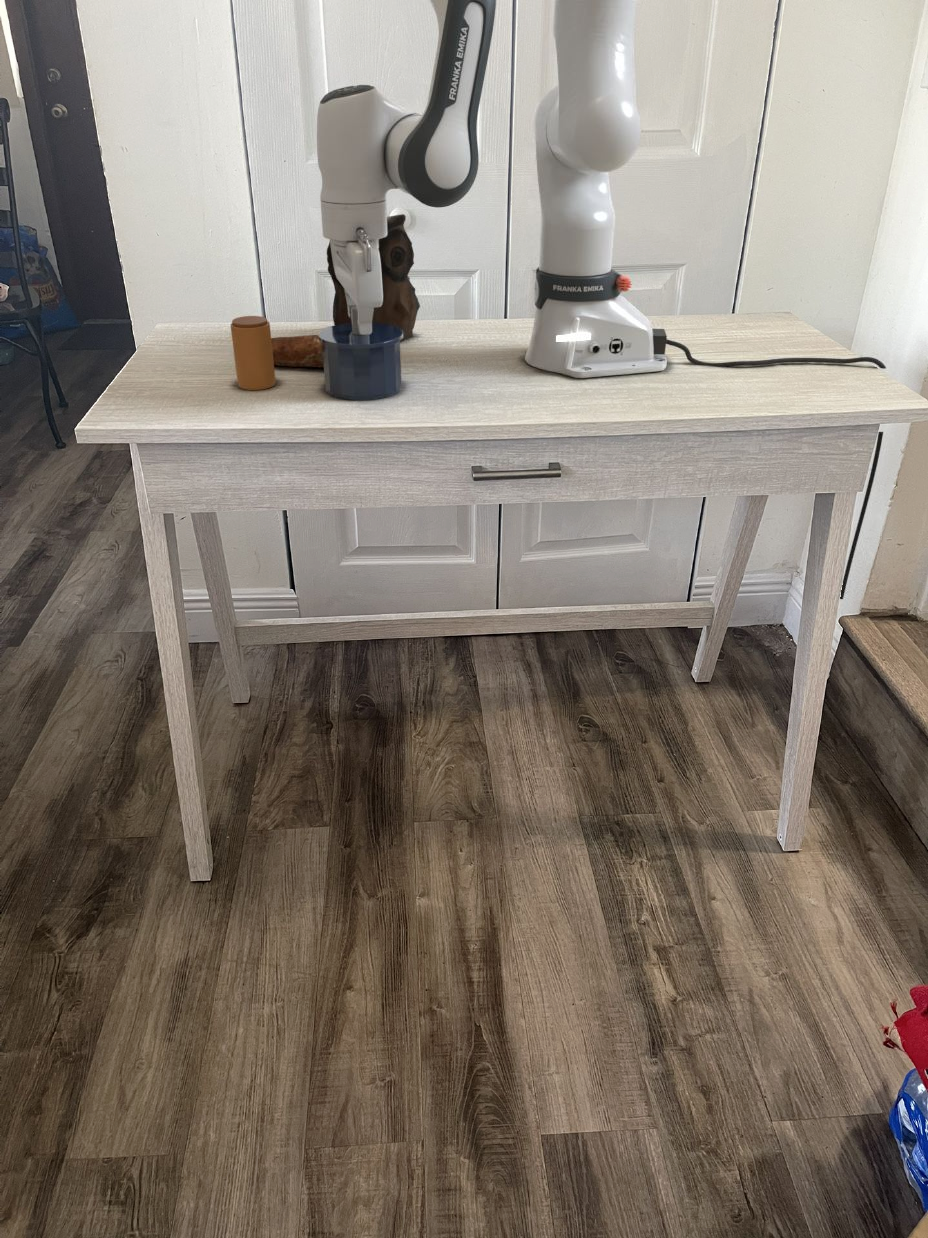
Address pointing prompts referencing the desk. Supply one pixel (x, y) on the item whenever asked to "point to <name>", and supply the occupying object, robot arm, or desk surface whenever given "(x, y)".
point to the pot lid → (359, 335)
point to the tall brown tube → (253, 352)
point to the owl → (386, 281)
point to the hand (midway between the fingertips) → (359, 325)
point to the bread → (298, 351)
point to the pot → (362, 372)
